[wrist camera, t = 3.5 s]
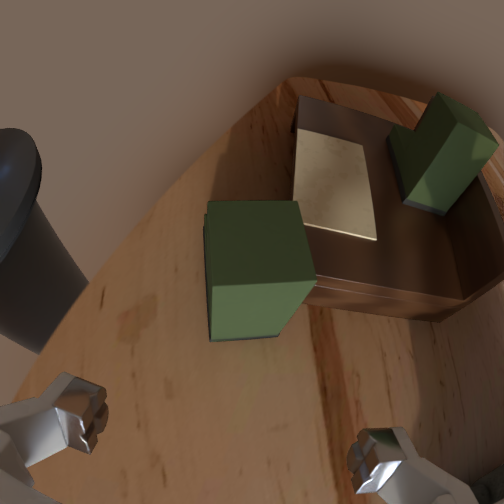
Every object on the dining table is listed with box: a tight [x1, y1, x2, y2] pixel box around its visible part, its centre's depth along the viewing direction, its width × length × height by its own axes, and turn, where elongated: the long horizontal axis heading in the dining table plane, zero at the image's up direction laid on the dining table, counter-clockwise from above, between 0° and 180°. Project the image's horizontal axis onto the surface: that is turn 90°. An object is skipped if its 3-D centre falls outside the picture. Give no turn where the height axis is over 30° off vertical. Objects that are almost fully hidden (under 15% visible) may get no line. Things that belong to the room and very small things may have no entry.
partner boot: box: [386, 92, 499, 216], centre depth 24 cm, size 5×10×10 cm, turn 172°
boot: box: [203, 200, 317, 342], centre depth 21 cm, size 5×10×10 cm, turn 7°
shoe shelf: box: [289, 95, 504, 322], centre depth 26 cm, size 17×24×11 cm
